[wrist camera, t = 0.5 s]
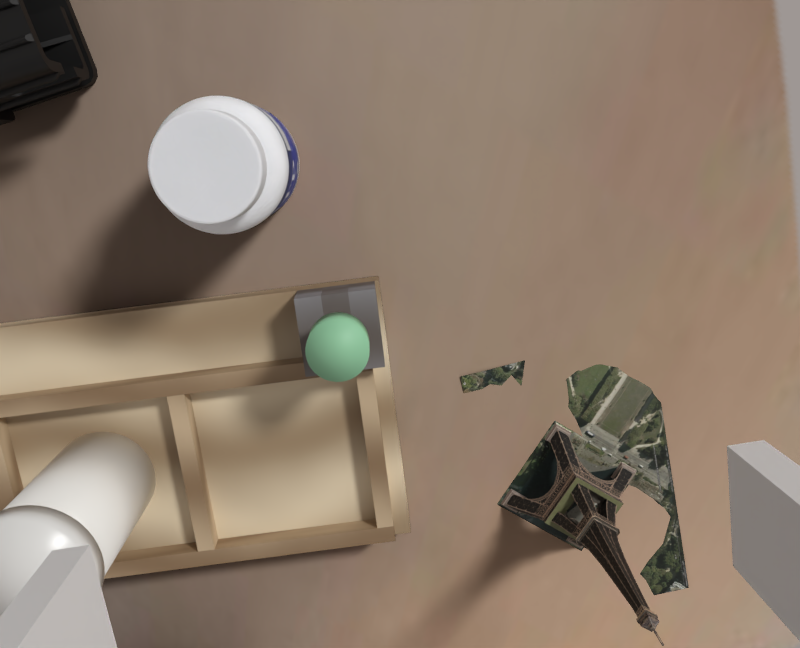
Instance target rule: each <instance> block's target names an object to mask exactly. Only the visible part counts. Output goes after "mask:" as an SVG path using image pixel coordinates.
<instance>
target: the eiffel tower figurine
mask: <svg viewBox="0 0 800 648" xmlns="http://www.w3.org/2000/svg"><path fill="white" fill-rule="evenodd" d="M524 363H525V361H521V362H517V363H513V364H510V365H506V366H502V367H498V368H494V369H490V370H487V371H483V372H479V373H474V374H470V375H465V376H461V381H462V387H463V393H467V392H471V391H475V390H479V389H483V388H484V387H486V386H488V385H489V384H495V385H502V384H503V383H504V382H505V381H506V380H507V379H508V378H509V377H510V376H511V375H512V376H513V377H514V378H515V379H516V380H517V382H518V383H519V384H520V385H522V377H523V370H524ZM566 380H567V387H568V395H569V406H568V407H569V409H570V410H571V412H572V414H573V415H574V417H575V419H576V420H577V423H578V425H579V427H580V430H581V432H582V435H583V437H582V436H580V435H578V434H577V433H575V432H573V431H572V430H570V429H568V428H566V427H565V426H563V425H561V424H560V423H558V422H556V421H554V422H553V424H552V425H551V427H550V428H549V430H548V431H547V433H546V434H545V436H544V437H543V438H542V440H541V441H540V443H539V444H538V446H537V447H536V449H535V450H534V451H533V453H532V454H531V456H530V457H529V459H528V460H527V462H526V463H525V464H524V466H523V467H522V469H521V470H520V472H519V473H518V475H517V476H516V478H515V479H514V480H513V482H512V483H511V485H510V486H509V488H508V489H507V491H506V492H505V493H504V495H503V496H502V498H501V499H500V501H499V502H498V505H499V506H501V507H503V508H505V509H507V510H508V511H510V512H512V513H514V514H516V515H518V516H519V517H521V518H523V519H525V520H527V521H528V522H530V523H532V524H534V525H536V526H537V527H539V528H541V529H543V530H545V531H546V532H548V533H550V534H552V535H554V536H555V537H557V538H559V539H561V540H563V541H564V542H566V543H568V544H570V545H572V546H573V547H575V548H577V549H579V550H581V551H582V549H583V548H584V547H585V548H586V549H588V550H589V551H590V552H591V553H592V554H593V556H594V557H595V558H596V559H597V560H598V562H599V563H600V564H601V565H602V567H603V568H604V569H605V571H606V572H607V574H608V575H609V576H610V578H611V579H612V580H613V582H614V583H615V584H616V586H617V587H618V589H619V590H620V591H621V593H622V594H623V596H624V597H625V598H626V600H627V601H628V603H629V604H630V605H631V607H632V608H633V610H634V611H635V613H636V615H637V617H638V618H637V619H636V620H637V622H638V623H639V624H640V625H641V626H642V627H644V628H646V629H647V630H649V631H651V632H652V631H654V633H655V634H656V636H657V638H658V639H659V641H660V643H661V644H662V646H664V644H663V642H662V641H661V639H660V637H659V636H658V634H657V632H656V631H655V628H656V626H657V624H658V623H659V620H658V619H657V618H658V616H657V615H656V614H655V613H653V612H651V610H650V609H649V607H648V605H647V603H646V601H645V599H644V597H643V595H642V593H641V591H640V589H639V587H638V585H637V583H636V581H635V579H634V576H633V574H632V572H631V570H630V568H629V566H628V564H627V562H626V559H625V557H624V555H623V552H622V550H621V547H620V544H619V542H618V537H617V536H618V534H619V533H620V531H619V529H618V528H616V513H617V512H618V510H619V509H620V508H621V506H622V505H623V503H622V501H621V500H620V499H619V498H620V496H621V494H622V493H623V492H624V490H625V489H626V487H627V486H628V485H631V486H634V487H637V488H638V489H640V490H641V491H643V492H644V493H646V494H647V495H648V496H650V497H652V498H653V499H654V500H655V501H656V502H657V503H658V504H660V505H661V506H662V507H664V508H665V509H666V511H667V512H668V514H669V515H670V516H671V518H670V521H669V525H668V529H667V532H666V536H665V539H664V543H663V544H662V546H661V547H660V548H659V549H658V550H657V552H656V553H655V554H654V555H653V556H652V558H651V559H650V560H649V561H648V563H647V564H646V566H645V567H644V569H643V570H642V572H641V573H640V574H641V575H642V576H643V577H644V578H645V579H646V581H647V583H648V585H649V587H650V589H651V591H652V592H653V594H654V595H657V594H662V593H666V592H671V591H676V590H680V589H685V588H689V587H688V581H687V574H686V568H685V561H684V554H683V547H682V541H681V534H680V527H679V520H678V514H677V507H676V500H675V494H674V487H673V481H672V474H671V467H670V461H669V454H668V447H667V440H666V434H665V427H664V420H663V413H662V407H661V402H660V401H659V400H658V399H657V398H656V397H655V396H654V394H653V392H652V390H651V388H649V387H648V386H646V385H645V384H643V383H641V382H639V381H637V380H635V379H633V378H631V377H629V376H628V375H626V374H625V373H624V372H622V371H621V370H620V369H618V368H617V367H611V366H606V365H594V366H592V367H590V368H587V369H585V370H583V371H576V372H575V373H574V374H573V375H571V376H570V377H569V378H568V379H566Z"/></svg>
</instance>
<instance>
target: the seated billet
mask: <svg viewBox="0 0 800 648" xmlns="http://www.w3.org/2000/svg"><path fill="white" fill-rule="evenodd" d="M155 485H156V476H155V470H154V467H153V464H152V462H151V460H150V458H149V456H148V455H147V453H146V452H145V451H144V450H143V449H142V448H141V447H140V446H139V445H138V444H137V443H135V442H134V441H132V440H131V439H129V438H127V437H125V436H123V435H120V434H116V433H111V432H93V433H88V434H85V435H82V436H80V437H78V438H76V439H75V440H73V441H72V442H71V443H69V444H68V445H67V446H66V447H65V448H64V449H63V450H62V451H61V452H60V453H59V454H58V455H57V456H56V457H55V458H54V459H53V460H52V461H51V462H50V463H49V464H48V465H47V466H46V467H45V468H44V469H43V470H42V471H41V472H40V473H39V474H38V475H37V476H36V477H35V478H34V479H33V480H32V481H31V482H30V483H29V484H28V485H27V486H26V487H25V488H24V489H23V490H22V491H21V492H20V493H19V494H18V495H17V496H16V497H15V498H14V499H13V500H12V501H11V502H10V503H9V504H8V505H7V506H6V507H5V508H4V509H3V510H2V511H0V616H1V615H2V614H3V612H4V611H5V610H6V609H7V607H8V606H9V605H10V604H11V602H12V601H13V600H14V598H15V597H16V596H17V595H18V593H19V592H20V591H21V590H22V588H23V587H24V586H25V584H26V583H27V582H28V581H29V579H30V578H31V577H32V576H33V574H34V573H35V572H36V570H37V569H38V568H39V567H40V565H41V564H42V563H43V562H44V560H45V559H46V558H47V556H48V555H49V554H50V553H51V551H52V550H59V549H65V548H72V547H78V546H84V545H90V548H91V551H92V555H93V559H94V563H95V566H96V570H97V574H98V578H99V582H100V585H101V589H102V586H103V582H104V576H105V574H106V573H107V571H108V569H109V568H110V566H111V565H112V563H113V561H114V560H115V558H116V556H117V555H118V553H119V551H120V550H121V548H122V546H123V545H124V543H125V542H126V540H127V538H128V537H129V535H130V533H131V532H132V530H133V528H134V527H135V525H136V523H137V522H138V520H139V519H140V517H141V515H142V514H143V512H144V510H145V509H146V507H147V505H148V504H149V502H150V500H151V498H152V496H153V494H154V490H155Z"/></svg>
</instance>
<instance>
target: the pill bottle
mask: <svg viewBox="0 0 800 648" xmlns="http://www.w3.org/2000/svg"><path fill="white" fill-rule="evenodd" d="M148 173H149V178H150V182H151V184H152V187H153V189H154V191H155V193H156V195H157V196H158V198H159V199H160V200H161V202H162V203H163V204H164V205H165V206H166V207H167V208H168V210H169V211H170V212H171V213H172V214H173V215H174V216H175V217H177V218H178V219H179V220H181V221H182V222H184V223H185V224H187V225H189V226H191V227H193V228H195V229H197V230H200V231H203V232H207V233H212V234H233V233H238V232H242V231H245V230H248V229H250V228H252V227H254V226H256V225H258V224H260V223H261V222H262V221H264V220H265V219H266V218H268V217H269V216H270V215H272V214H273V213H275V212H276V211H277V210H279V209H280V208H281V207H282V206H283V205H284V204H285V203H286V202H287V201H288V199H289V198H290V196H291V195H292V193H293V191H294V189H295V187H296V183H297V180H298V176H299V155H298V150H297V147H296V144H295V142H294V139H293V137H292V135H291V134H290V132H289V131H288V129H287V128H286V127H285V126H284V124H283V123H282V122H281V121H280V120H279V119H278V118H276V117H275V116H274V115H272V114H271V113H269V112H268V111H266V110H264V109H262V108H260V107H258V106H255V105H253V104H251V103H248V102H246V101H243V100H240V99H237V98H233V97H228V96H206V97H201V98H197V99H194V100H192V101H190V102H188V103H185V104H183V105H182V106H180V107H179V108H177V109H176V110H174V111H173V112H172V113H171V114H170V115H169V116H168V117H167V118H166V119H165V120H164V121H163V123H162V124H161V126H160V127H159V129H158V131H157V133H156V135H155V137H154V139H153V141H152V143H151V146H150V149H149V154H148Z"/></svg>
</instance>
